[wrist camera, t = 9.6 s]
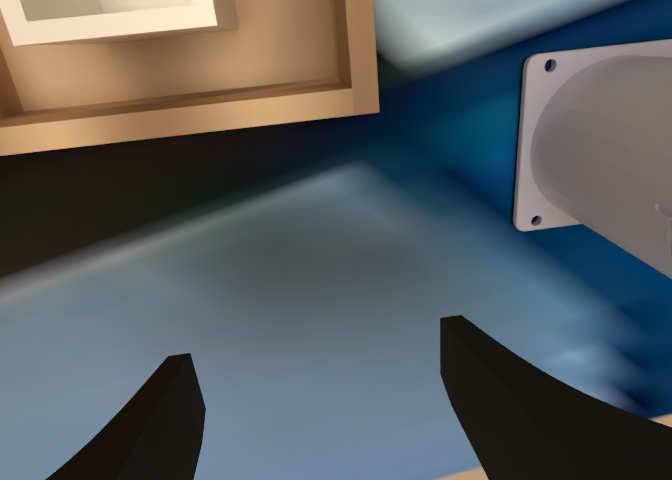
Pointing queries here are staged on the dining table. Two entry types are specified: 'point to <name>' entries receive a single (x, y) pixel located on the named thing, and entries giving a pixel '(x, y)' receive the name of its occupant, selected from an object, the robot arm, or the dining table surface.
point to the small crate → (113, 20)
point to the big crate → (192, 78)
